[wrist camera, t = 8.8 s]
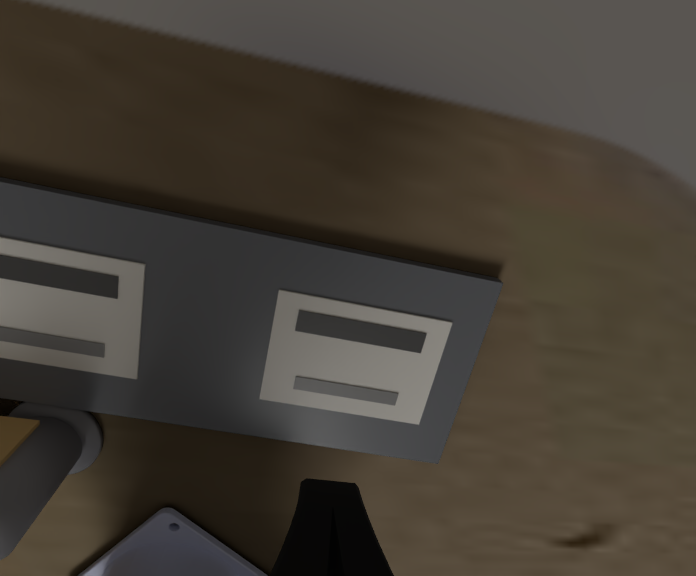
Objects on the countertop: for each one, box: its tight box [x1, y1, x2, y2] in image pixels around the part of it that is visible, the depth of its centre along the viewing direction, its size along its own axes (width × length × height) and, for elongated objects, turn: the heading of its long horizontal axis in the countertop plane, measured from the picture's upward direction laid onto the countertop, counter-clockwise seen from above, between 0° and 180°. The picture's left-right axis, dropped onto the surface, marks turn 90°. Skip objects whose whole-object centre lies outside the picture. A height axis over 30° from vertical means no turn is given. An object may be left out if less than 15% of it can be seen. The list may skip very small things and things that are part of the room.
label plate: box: [0, 177, 503, 475], centre depth 19 cm, size 22×13×1 cm, turn 78°
